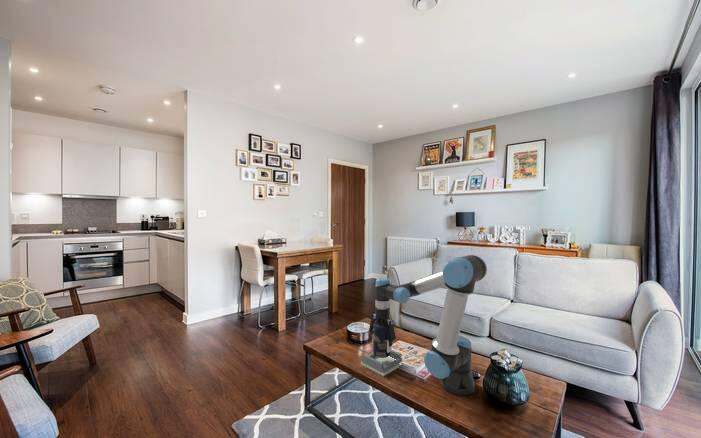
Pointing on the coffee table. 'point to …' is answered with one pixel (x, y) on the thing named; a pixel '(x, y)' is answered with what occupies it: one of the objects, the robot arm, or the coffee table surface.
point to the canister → (380, 340)
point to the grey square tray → (381, 363)
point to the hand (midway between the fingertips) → (381, 348)
